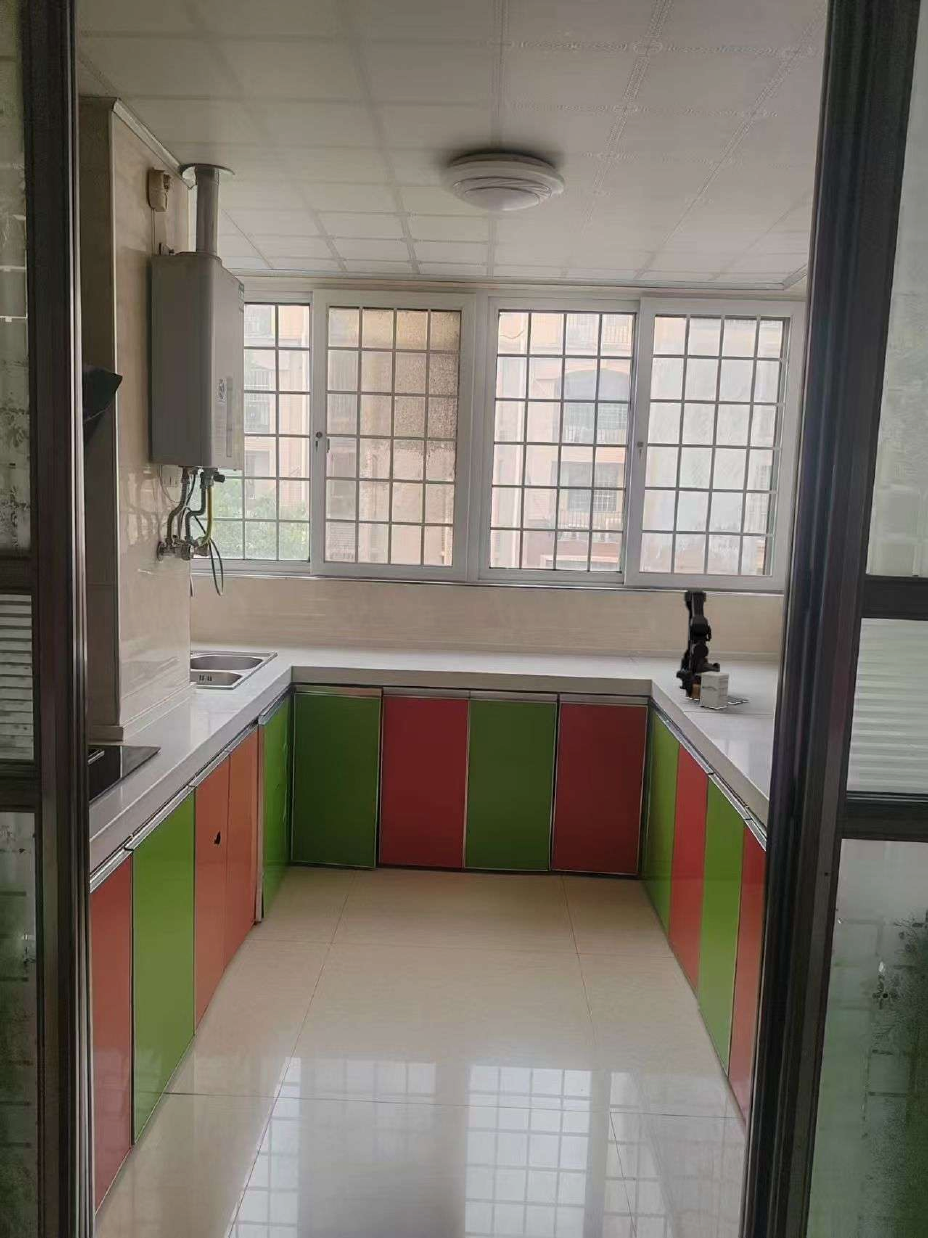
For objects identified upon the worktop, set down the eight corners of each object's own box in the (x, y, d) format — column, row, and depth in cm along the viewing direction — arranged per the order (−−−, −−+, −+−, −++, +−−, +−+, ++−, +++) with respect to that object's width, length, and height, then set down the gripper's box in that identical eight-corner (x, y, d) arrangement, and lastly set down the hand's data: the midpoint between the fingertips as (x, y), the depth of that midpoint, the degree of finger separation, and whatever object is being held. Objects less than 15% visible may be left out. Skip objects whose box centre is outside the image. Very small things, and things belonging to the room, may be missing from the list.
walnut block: (692, 696, 373) (693, 684, 373) (704, 699, 370) (705, 686, 369) (685, 698, 370) (686, 685, 369) (696, 700, 366) (697, 687, 366)
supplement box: (698, 706, 355) (700, 672, 353) (709, 704, 360) (711, 670, 358) (716, 710, 349) (718, 675, 348) (727, 707, 355) (729, 673, 353)
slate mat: (727, 697, 373) (727, 695, 373) (747, 701, 367) (748, 699, 367) (712, 700, 366) (712, 698, 366) (733, 704, 360) (733, 702, 360)
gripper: (702, 660, 355) (699, 701, 357) (729, 655, 368) (727, 696, 370) (676, 655, 363) (674, 696, 365) (704, 651, 376) (701, 691, 378)
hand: (695, 695), depth 370 cm, fingers open, 7 cm apart
